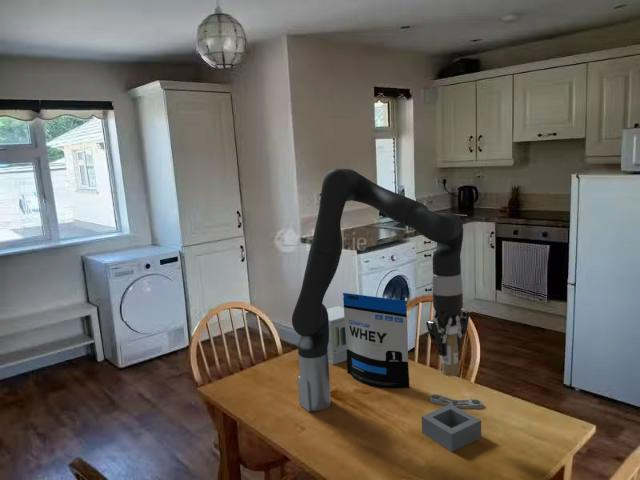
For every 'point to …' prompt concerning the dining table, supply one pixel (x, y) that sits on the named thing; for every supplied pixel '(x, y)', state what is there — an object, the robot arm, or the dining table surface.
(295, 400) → the dining table surface
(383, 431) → the dining table surface
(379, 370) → the protein powder
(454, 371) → the sprinkles bottle
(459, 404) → the bracket
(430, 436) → the well
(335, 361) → the supplement box
